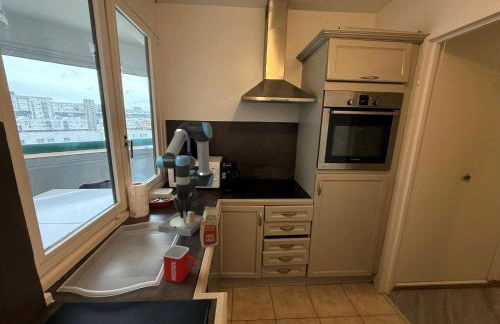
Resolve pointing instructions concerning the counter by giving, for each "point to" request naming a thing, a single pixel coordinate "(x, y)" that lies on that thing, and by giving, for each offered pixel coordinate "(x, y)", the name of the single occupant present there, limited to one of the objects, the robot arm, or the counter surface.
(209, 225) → the milk carton
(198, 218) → the panel
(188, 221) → the dial
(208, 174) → the robot arm
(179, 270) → the mug
